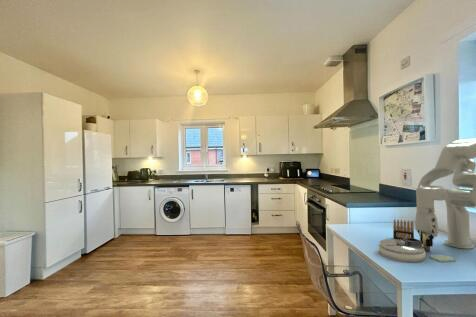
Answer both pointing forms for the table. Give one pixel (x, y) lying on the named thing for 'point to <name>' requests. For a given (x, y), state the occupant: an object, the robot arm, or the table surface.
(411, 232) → the ammunition clip
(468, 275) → the table surface
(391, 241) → the grey round shallow disc
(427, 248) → the brass rounded cylinder
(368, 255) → the table surface
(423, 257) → the chuck housing
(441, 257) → the mat
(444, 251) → the table surface
